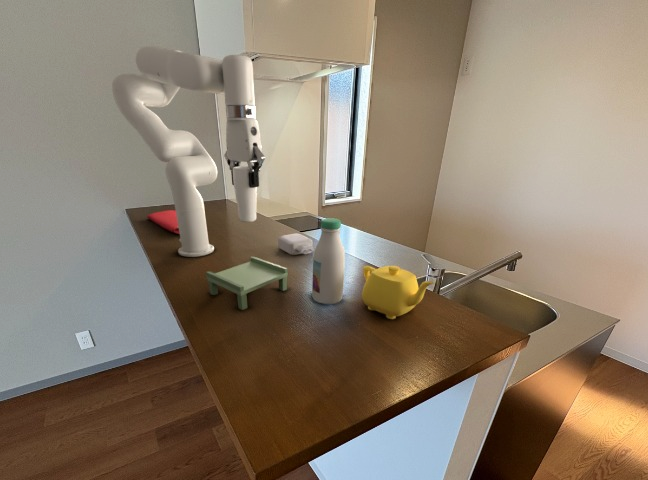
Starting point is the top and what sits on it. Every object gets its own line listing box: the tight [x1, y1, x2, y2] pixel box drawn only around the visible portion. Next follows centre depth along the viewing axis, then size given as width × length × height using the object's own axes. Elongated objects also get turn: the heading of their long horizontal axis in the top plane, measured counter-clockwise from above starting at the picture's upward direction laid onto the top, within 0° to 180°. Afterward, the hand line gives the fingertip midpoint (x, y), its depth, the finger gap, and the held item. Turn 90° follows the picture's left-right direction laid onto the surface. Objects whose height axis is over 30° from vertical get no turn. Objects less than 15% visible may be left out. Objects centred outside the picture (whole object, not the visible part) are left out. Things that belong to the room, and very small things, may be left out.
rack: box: [205, 256, 289, 311], centre depth 84 cm, size 14×16×6 cm
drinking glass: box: [233, 165, 258, 223], centre depth 93 cm, size 7×7×15 cm
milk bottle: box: [311, 217, 346, 305], centre depth 77 cm, size 8×8×20 cm
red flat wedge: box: [146, 209, 180, 235], centre depth 151 cm, size 16×41×4 cm, turn 36°
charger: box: [277, 232, 315, 256], centre depth 113 cm, size 5×9×15 cm
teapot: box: [361, 265, 436, 320], centre depth 73 cm, size 18×11×11 cm, turn 39°
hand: (245, 185), depth 92 cm, fingers closed on drinking glass, 6 cm apart
